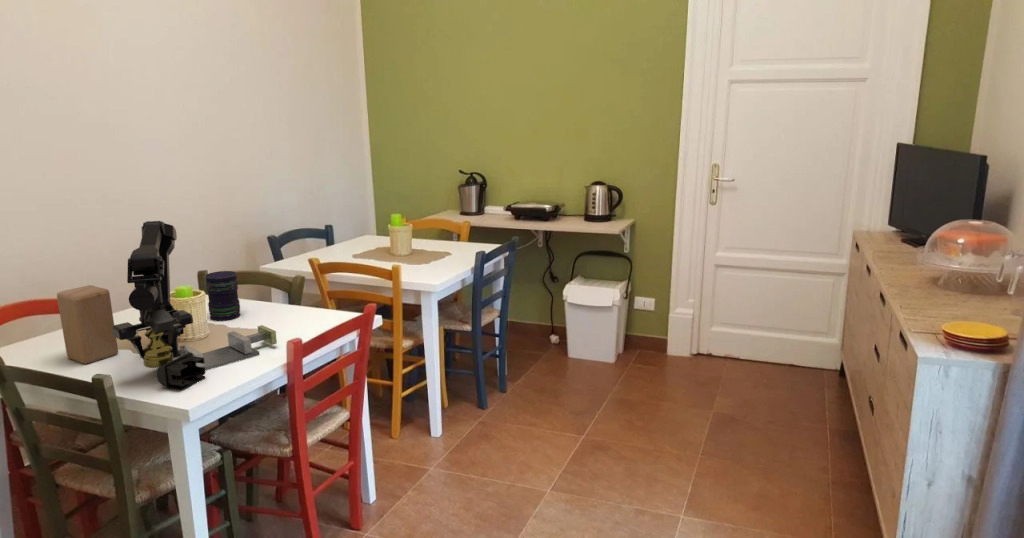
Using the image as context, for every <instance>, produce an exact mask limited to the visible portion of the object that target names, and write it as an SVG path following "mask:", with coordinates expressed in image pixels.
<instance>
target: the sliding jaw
mask: <svg viewBox="0 0 1024 538" xmlns="http://www.w3.org/2000/svg"><path fill="white" fill-rule="evenodd" d="M226 334H227V340H228V346H230V347H232V348H234V349H236V350H238V351H240V352H242V353H244V354H247V353H250V352H252V349H251V348H252V344H256V343H258V342H262V341H263V342H265V343H267V344H269V345H271V346H273V345H276V344H277V343H278V342H277V331H276V330H275V329H272V328H270V327H268V326H265V325H263V324H261V325H258V326H257V332H256V333H252V334H249V335H243V334H241V333H239V332H237V331H234V330H232V331H229V332H227V333H226Z"/></svg>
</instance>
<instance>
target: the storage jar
mask: <svg viewBox="0 0 1024 538" xmlns="http://www.w3.org/2000/svg"><path fill="white" fill-rule="evenodd" d="M204 277H205V287H206V293H207V295H208V303H207V305H208V312H209V315H210V316H209V319H210V320H211V321H213V322H229V321H232V320H236V319H238V318H240V317H241V304H240V303H241V302H240V299H239V297H238V296H239V295H238V290H239V286H238V279H237V272H236V271H232V270H221V271H220V270H219V271H214V272H209V273H207V274H205V276H204Z"/></svg>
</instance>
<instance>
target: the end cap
mask: <svg viewBox="0 0 1024 538" xmlns="http://www.w3.org/2000/svg"><path fill="white" fill-rule="evenodd" d="M196 363H203V364H204V363H205V362H204V358H202V357H195V356H193V353H187V354H185V355H183V356H181V355H180V356H179V357H177V358H175V359H174V360H173V361H171V362H168V363H166V364H164V365H162V366H160V367H158V368H157V369H156V374H155V375H156V379H157V381H158V383H159V384H160V385H161V386H162V387H164V388H166V389H167V390H171V391H176V392H183V391H185V390H187V389H189V388H190V387H192V386H194V385H196V384H197V382H198V383H200V382H202V381H203V380H205V379H206V376H205V374H206V372H207V370H206V371H205V367H198V366H196ZM199 381H200V382H199Z"/></svg>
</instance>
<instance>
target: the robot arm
mask: <svg viewBox="0 0 1024 538" xmlns="http://www.w3.org/2000/svg"><path fill="white" fill-rule="evenodd" d="M177 237H178V236H177V229H176V228H175V227H174V225H173V224H169V223H165V222H164V221H161V220H153V221H152V220H150V221H149V220H148V221H144V222H143V225H142V226H141V240H140V244H139V247H138V248H135V249H133V250H132V252H131V254H130V257H128V259H127V275H126V276H127V278H126V279H127V280H126V281H127V282H126V283H127V284H133V285H134V288H133V290H132V291H131V292H130V294H129V297H128V302H129V305H130V306H131V307H132V308H133V309H135V310H137V311H139V318H138V321H139V322H140V323H137V324H132V323H130V322H129V321H128V322H123V323H118V324H114V326H113V328H112V333H113V336H115V337H116V339H117V340H120V341H123V340H126V341H128V342H130V343H131V345H133V348H134V349H135V350H136V352H137V354H138V356H139V357H140V359H142V360H143V359H144V353H143V348H144V347H143V346H142V345H143V344H142V336H140V335H139V332H141V331H145V332H147V331H148V330H150V329H151V328H152V329H153V331H154V332H155V333H161V332H164V331H165V334H164V335H162V337H161V339H162V340H163V341H165V342H166V343H168V344H170V345H171V346H172V351H171V352H172V353H173V358H175V357H178V356H179V357H180V356H181V355H180V349H179V344H178V337H181V335H183V334H184V333H185V331H184V329H185V328H186V327H187V325H191V324H194V318H193V315H192V314H191V313H190V312H188V311H185V310H183V309H181V310H178V309H175V308H174V306H173V305H172V303H171V285H170V284H171V282H170V281H171V273H170V255H171V254H172V253H173V250H174V249H175V243H176V242H175V241H177ZM148 339H149V338H148V337H147V340H148ZM149 340H150V339H149Z"/></svg>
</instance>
